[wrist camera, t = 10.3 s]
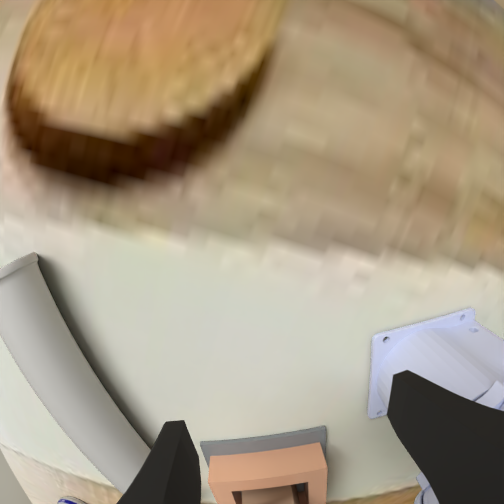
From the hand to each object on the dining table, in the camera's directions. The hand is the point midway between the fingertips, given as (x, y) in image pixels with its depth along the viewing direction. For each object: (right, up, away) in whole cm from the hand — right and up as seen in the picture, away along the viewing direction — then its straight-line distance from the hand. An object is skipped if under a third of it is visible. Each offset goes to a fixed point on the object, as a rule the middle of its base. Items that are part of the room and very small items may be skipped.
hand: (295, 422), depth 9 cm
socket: (0, -15, +14) cm, 20 cm away
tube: (-13, -6, +12) cm, 19 cm away
